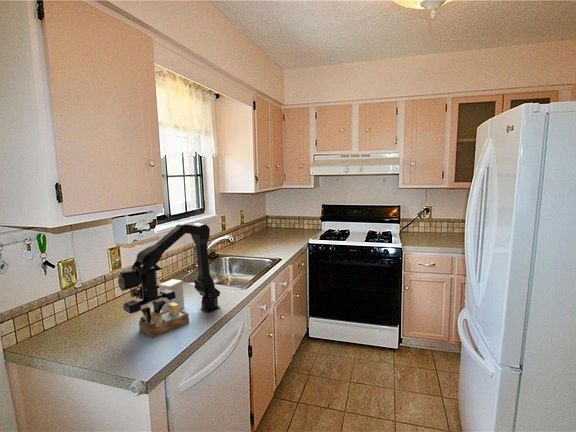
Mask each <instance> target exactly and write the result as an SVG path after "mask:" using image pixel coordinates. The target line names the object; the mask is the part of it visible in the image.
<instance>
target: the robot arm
mask: <svg viewBox="0 0 576 432" xmlns="http://www.w3.org/2000/svg"><path fill="white" fill-rule="evenodd" d="M210 230H211V229H210V227H209V226H208V224H206V223H205V224H204V223H199V222H196V223H192V224H187V223H180V222H179V223H178V224H176V225H175V227H174V228H172V230H171V229H170V231H169V232H167V233H166V235H164V236H163V237H162V238H161V239H160V240H158V241H157V242H156V243H154V244H153V245H151V246H148V247H146V248H144V249H143V250H141V251H139V252H138V253H137V254H136V260H135V261H134V263H133V265H132V267H131V268H130V270H126V271H121V272H119V276H118V279H117V284H118V286H119V289H120V290H121V291H122V292H123V291H124V292H125V291H127V290H130V291H129V292H130V297H131V298H134V297H136V299H140V301H137V300H135V299H132V300H129V301H127V302H124V304H123V311H125V312H127V314H128V313H129V314H135V313H137V312H140V311H141V313H142V312H143V314H144V315H145V317H146V319H147V321H148V322H149V323H150V320H151V316H150V310H151V307H149V304H152V306H153V311H154V312H156V313H158V314H159V313H161V312H162V307H163V305H164V304H166V302H165V301H164V298H166V297H167V299H168V300H172V299H174V298H176V294H175V292H174V291H172V290H169V289H166V290H163V291H160V290H159V291H158V289H160V287H159V285H160V284H158V279H157V278H158V276H157V272H158V271H161V270H162V267H160V266H159V265H158V262H160V260H161V259H162V256H163V254H165V252H166V251H168V249H169V248H171V247H172V246H173V245H175V243H177V241H179V240H180V239H181V238H183V237H184V235H186V234H189V235H190V236H191V239H192V241H193V242H194V244H195V253H196V262H197V273H198V276H197V278H195V279H193V282H194V289H195V290H196V292H198V293H199V295H200V296H201V307H200V310H202V311H204V312H207V313H212V312H213V311H216V310H218V309H220V308H221V305H219V304H218V303H219V300H218V298H219V297H220V296H221V291H220V290H219V289H217V288H216V286H215V282H214V280H213V278H212V276H211V274H210V263H209V262H210V261H209V255H208V254H209V252H208V241H209V240H210V236H211V235H210V234H211V231H210ZM138 287H139V289H137V288H138Z"/></svg>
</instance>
